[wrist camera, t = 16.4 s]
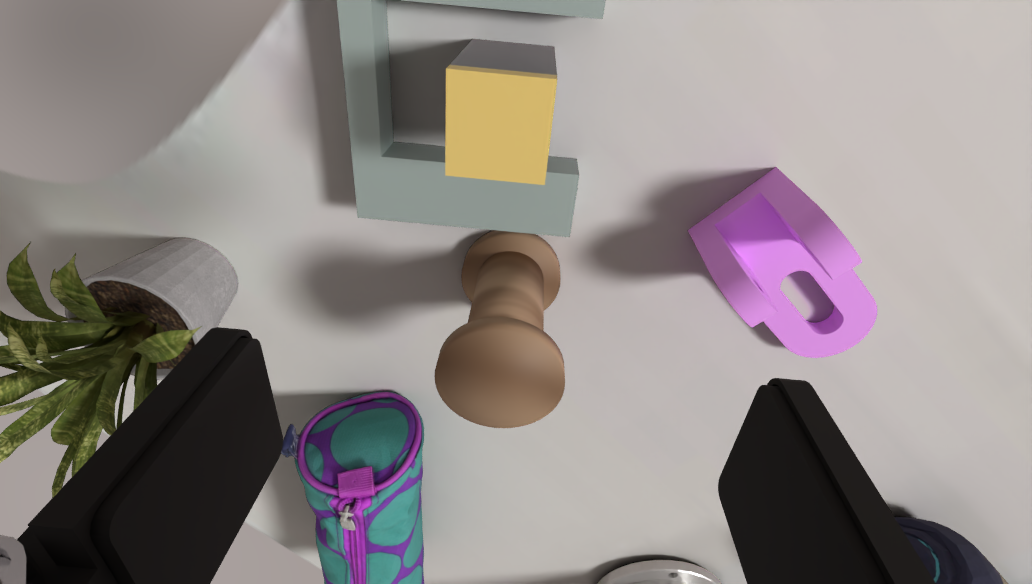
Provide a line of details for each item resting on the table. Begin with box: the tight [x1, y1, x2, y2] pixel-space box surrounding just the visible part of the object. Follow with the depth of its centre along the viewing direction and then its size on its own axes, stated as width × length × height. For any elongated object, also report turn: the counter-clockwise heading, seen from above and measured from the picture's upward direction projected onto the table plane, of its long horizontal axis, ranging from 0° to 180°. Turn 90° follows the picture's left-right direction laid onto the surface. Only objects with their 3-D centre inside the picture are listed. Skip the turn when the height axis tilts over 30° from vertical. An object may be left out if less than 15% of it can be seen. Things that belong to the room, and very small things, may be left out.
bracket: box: [688, 167, 877, 358], centre depth 29 cm, size 13×6×7 cm, turn 44°
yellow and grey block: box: [445, 39, 557, 185], centre depth 23 cm, size 4×4×8 cm
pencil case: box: [281, 391, 424, 584], centre depth 40 cm, size 21×9×10 cm, turn 175°
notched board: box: [337, 0, 606, 237], centre depth 25 cm, size 14×12×2 cm
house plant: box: [0, 238, 238, 498], centre depth 27 cm, size 14×14×16 cm
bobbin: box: [435, 230, 565, 428], centre depth 28 cm, size 6×6×10 cm
